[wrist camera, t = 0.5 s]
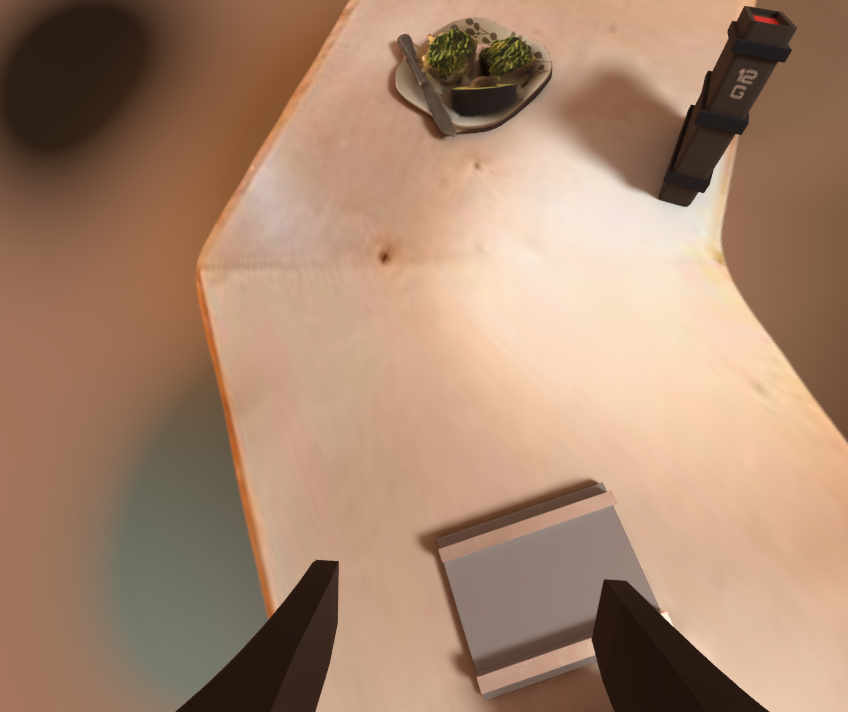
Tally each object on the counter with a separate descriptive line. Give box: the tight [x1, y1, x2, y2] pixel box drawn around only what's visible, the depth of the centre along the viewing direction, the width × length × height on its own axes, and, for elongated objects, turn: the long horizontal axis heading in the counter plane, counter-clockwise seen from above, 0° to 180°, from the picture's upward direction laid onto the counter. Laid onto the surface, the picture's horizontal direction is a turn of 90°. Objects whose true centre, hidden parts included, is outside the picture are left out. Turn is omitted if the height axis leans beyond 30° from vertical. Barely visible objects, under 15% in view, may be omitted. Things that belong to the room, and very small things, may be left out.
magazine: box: [659, 6, 797, 206], centre depth 41 cm, size 4×13×15 cm, turn 155°
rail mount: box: [437, 482, 674, 701], centre depth 33 cm, size 11×14×2 cm
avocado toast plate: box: [395, 18, 552, 137], centre depth 53 cm, size 19×18×5 cm
